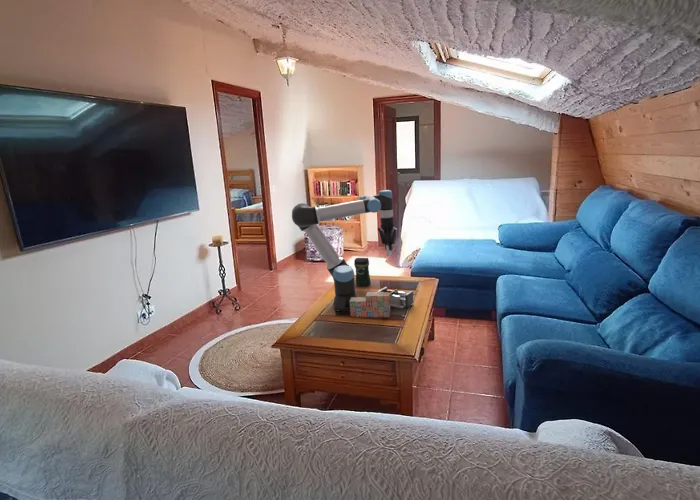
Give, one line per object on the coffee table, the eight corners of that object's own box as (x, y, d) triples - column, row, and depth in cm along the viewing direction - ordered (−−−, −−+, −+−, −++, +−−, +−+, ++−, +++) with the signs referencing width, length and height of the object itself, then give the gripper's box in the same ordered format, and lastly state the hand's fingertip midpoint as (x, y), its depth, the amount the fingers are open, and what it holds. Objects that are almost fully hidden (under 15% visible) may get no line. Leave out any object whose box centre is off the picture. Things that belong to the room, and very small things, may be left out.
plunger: (406, 308, 226) (406, 295, 224) (383, 304, 235) (382, 291, 233) (414, 303, 233) (414, 290, 231) (391, 298, 242) (390, 286, 240)
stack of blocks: (350, 317, 221) (348, 296, 218) (352, 312, 227) (350, 292, 224) (389, 317, 217) (388, 295, 214) (390, 312, 223) (389, 291, 220)
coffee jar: (371, 283, 273) (370, 256, 269) (368, 287, 266) (366, 259, 261) (358, 282, 276) (356, 256, 272) (354, 286, 269) (352, 259, 264)
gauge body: (403, 308, 227) (402, 296, 225) (377, 303, 237) (377, 291, 235) (411, 303, 234) (410, 290, 232) (385, 298, 244) (385, 286, 242)
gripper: (399, 216, 239) (401, 254, 245) (380, 215, 247) (383, 252, 252) (393, 218, 233) (395, 258, 239) (374, 217, 241) (376, 255, 247)
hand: (389, 255), depth 246 cm, fingers closed
